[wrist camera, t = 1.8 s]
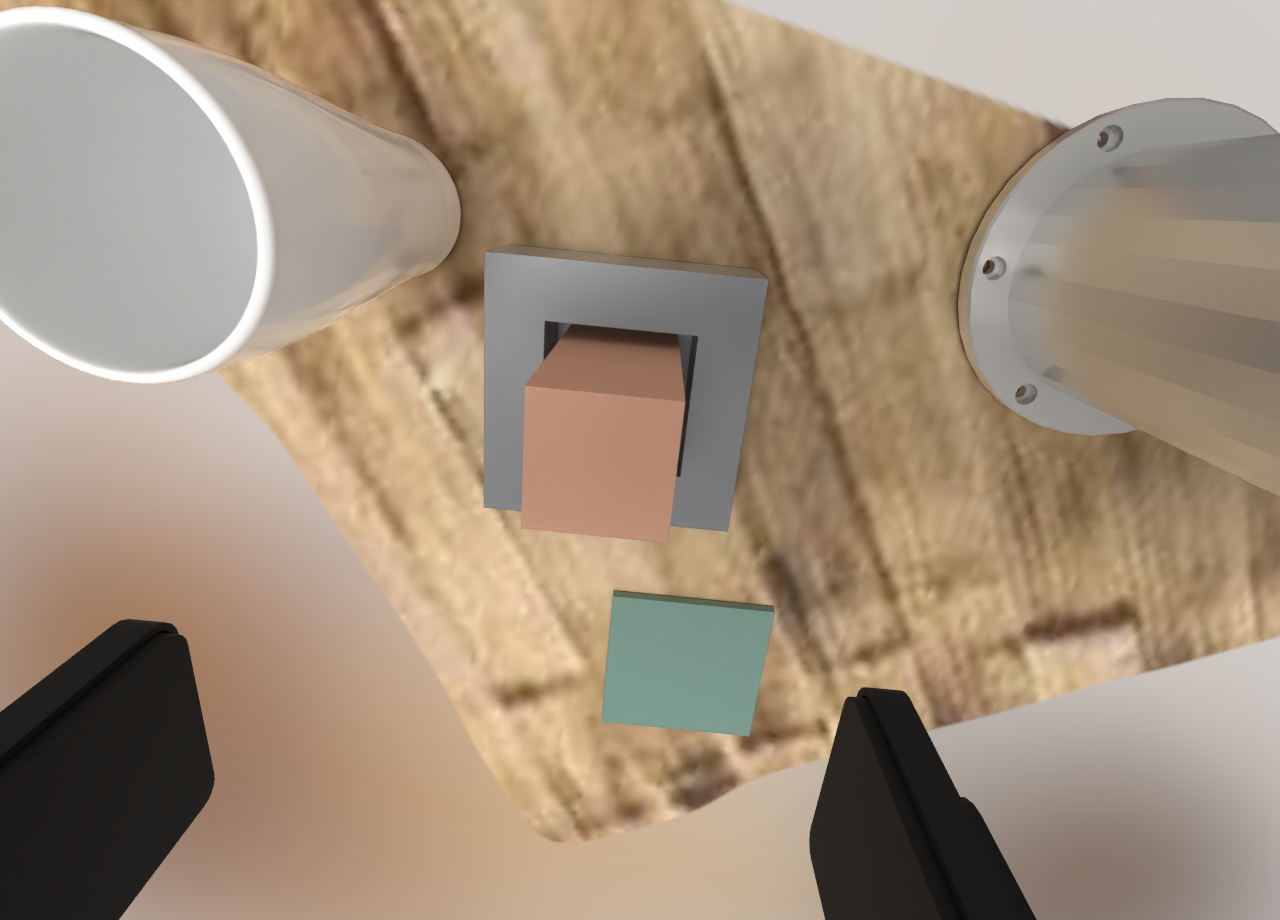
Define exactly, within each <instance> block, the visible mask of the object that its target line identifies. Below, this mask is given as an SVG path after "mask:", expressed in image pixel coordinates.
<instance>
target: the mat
mask: <svg viewBox="0 0 1280 920" xmlns="http://www.w3.org/2000/svg"><path fill="white" fill-rule="evenodd" d="M773 617H774V609H773V606H763V605H753V604H743V603H733V602H723V601H713V600H703V599H693V598H682V597H672V596H662V595H652V594H642V593H632V592H622V591H614V592H613V602H612V613H611V623H610V634H609V645H608V656H607V667H606V678H605V689H604V700H603V711H602V722H610V723H620V724H630V725H640V726H651V727H661V728H671V729H681V730H691V731H701V732H712V733H722V734H732V735H742V736H749V734H750V729H751V724H752V719H753V715H754V710H755V705H756V700H757V695H758V690H759V685H760V680H761V675H762V670H763V666H764V661H765V656H766V651H767V646H768V641H769V636H770V631H771V626H772V621H773Z"/></svg>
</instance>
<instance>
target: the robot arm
mask: <svg viewBox="0 0 1280 920" xmlns="http://www.w3.org/2000/svg"><path fill="white" fill-rule="evenodd" d="M1099 135H1100V137H1101V142H1100V143H1099V145H1097V143H1098V136H1099ZM987 260H988V262H989V268H988V270H987V271H986V272H984V273H983V266H984V264H985V263H986V261H987ZM958 313H959V328H960V334H961V338H962V341H963V345H964V348H965V352H966V356H967V358H968V360H969V362H970V364H971V366H972V368H973V369H974V371H975V373H976V375H977V377H978V379H979V380H980V381H981V383H982V384H983V385H984V386H985V387H986V388H987V389H988V390H989V392H990V393H991V394H992V395H993V396H994V397H995V398H996V399H997V400H998V401H1000V402H1001V403H1002V404H1004V405H1005V406H1007V407H1008V408H1009V409H1011V410H1012V411H1014V412H1015V413H1017V414H1018V415H1020V416H1022V417H1024V418H1026V419H1028V420H1030V421H1032V422H1033V423H1035V424H1037V425H1039V426H1043V427H1046V428H1049V429H1052V430H1056V431H1059V432H1062V433H1069V434H1079V435H1089V436H1097V435H1110V434H1122V433H1127V432H1131V431H1135V430H1141V431H1143V432H1145V433H1147V434H1150V435H1152V436H1154V437H1156V438H1158V439H1160V440H1162V441H1164V442H1166V443H1168V444H1170V445H1172V446H1175V447H1177V448H1179V449H1181V450H1183V451H1185V452H1187V453H1189V454H1191V455H1193V456H1195V457H1197V458H1200V459H1202V460H1204V461H1206V462H1208V463H1210V464H1212V465H1214V466H1216V467H1218V468H1220V469H1222V470H1225V471H1227V472H1229V473H1231V474H1233V475H1235V476H1237V477H1239V478H1241V479H1243V480H1245V481H1247V482H1250V483H1252V484H1254V485H1256V486H1258V487H1260V488H1262V489H1264V490H1266V491H1268V492H1270V493H1272V494H1275V495H1277V496H1279V497H1280V134H1279V133H1278V132H1277V131H1276V130H1275V129H1273V128H1272V127H1271V126H1270V125H1269V124H1268V123H1267V122H1266V121H1264V120H1263V119H1262V118H1259V117H1258V116H1255V115H1253V114H1252V113H1250V112H1248V111H1246V110H1244V109H1242V108H1240V107H1238V106H1235V105H1232V104H1227V103H1222V102H1218V101H1214V100H1209V99H1205V98H1166V99H1161V100H1155V101H1150V102H1144V103H1139V104H1134V105H1130V106H1127V107H1124V108H1121V109H1117V110H1114V111H1111V112H1108V113H1104V114H1101V115H1098V116H1096V117H1094V118H1093V119H1091V120H1089V121H1087V122H1085V123H1083V124H1081V125H1079V126H1077V127H1075V128H1073V129H1071V130H1069V131H1067V132H1065V133H1064V134H1062V135H1061V136H1060V137H1058V138H1057V139H1056V140H1054V141H1053V142H1052V143H1050V144H1049V145H1047V146H1046V147H1045V148H1043V149H1042V150H1041V151H1039V152H1038V153H1036V154H1035V155H1034V156H1033V157H1032V158H1031V159H1030V160H1029V161H1028V162H1027V163H1026V164H1025V165H1024V166H1023V167H1022V168H1021V169H1020V170H1019V171H1018V172H1017V173H1016V174H1015V175H1014V176H1013V177H1012V178H1011V179H1010V180H1009V181H1008V183H1007V184H1006V185H1005V187H1004V188H1003V190H1002V191H1001V192H1000V194H999V195H998V196H997V198H996V199H995V200H994V202H993V203H992V205H991V206H990V207H989V209H988V210H987V212H986V214H985V216H984V218H983V220H982V222H981V224H980V226H979V228H978V230H977V232H976V234H975V235H974V237H973V239H972V242H971V245H970V248H969V251H968V254H967V257H966V261H965V264H964V267H963V270H962V275H961V282H960V290H959V298H958ZM1020 387H1021V388H1020ZM1018 388H1020V390H1019V392H1017V390H1018ZM1016 392H1017V393H1016ZM1015 393H1016V394H1015ZM214 780H215V778H214V771H213V765H212V761H211V755H210V751H209V746H208V741H207V736H206V731H205V726H204V721H203V716H202V711H201V707H200V701H199V697H198V691H197V687H196V682H195V677H194V672H193V667H192V662H191V657H190V652H189V647H188V643H187V640H186V638H184V636H182V635H179V634H178V631H177V629H176V628H175V627H174V626H173V625H172V624H170V623H165V622H153V621H144V620H133V619H126V620H121V621H119V622H117V623H116V624H114V625H112V626H111V627H110V628H108V629H107V630H106V631H105V632H103V633H102V634H101V635H99V636H98V637H97V638H96V639H94V640H93V641H92V642H91V643H89V644H88V645H86V646H85V647H84V648H83V649H81V650H80V651H79V652H77V653H76V654H75V655H74V656H72V657H71V658H70V659H68V660H67V661H66V662H65V663H63V664H62V665H61V666H59V667H58V668H57V669H55V670H54V671H53V672H52V673H50V674H49V675H48V676H46V677H45V678H44V679H43V680H41V681H40V682H39V683H37V684H36V685H35V686H33V687H32V688H31V689H30V690H28V691H27V692H26V693H24V694H23V695H22V696H21V697H19V698H18V699H17V700H15V701H14V702H13V703H12V704H10V705H9V706H8V707H6V708H5V709H4V710H2V711H1V712H0V920H119V919H120V917H121V916H122V915H123V913H124V912H125V911H126V909H127V908H128V907H129V905H130V904H131V903H132V901H133V900H134V899H135V897H136V896H137V895H138V894H139V892H140V891H141V890H142V888H143V887H144V885H145V884H146V883H147V881H148V880H149V879H150V878H151V876H152V875H153V874H154V872H155V871H156V870H157V868H158V867H159V865H160V864H161V863H162V862H163V860H164V859H165V858H166V856H167V855H168V854H169V852H170V851H171V850H172V848H173V847H174V846H175V844H176V843H177V842H178V840H179V839H180V838H181V836H182V835H183V833H184V832H185V831H186V830H187V828H188V827H189V826H190V824H191V823H192V822H193V820H194V819H195V818H196V816H197V815H198V814H199V812H200V811H201V810H202V808H203V807H204V806H205V804H206V803H207V801H208V799H209V797H210V795H211V793H212V789H213V786H214ZM809 840H810V841H809V842H810V855H811V861H812V865H813V869H814V873H815V878H816V882H817V886H818V890H819V895H820V898H821V903H822V907H823V912H824V916H825V920H1036V918H1035V916H1034V914H1033V912H1032V910H1031V909H1030V907H1029V905H1028V903H1027V901H1026V899H1025V897H1024V896H1023V893H1022V891H1021V890H1020V888H1019V886H1018V884H1017V882H1016V880H1015V878H1014V876H1013V874H1012V873H1011V871H1010V869H1009V867H1008V865H1007V863H1006V861H1005V859H1004V857H1003V856H1002V854H1001V852H1000V850H999V848H998V846H997V844H996V843H995V840H994V839H993V837H992V835H991V833H990V831H989V829H988V827H987V825H986V824H985V822H984V820H983V818H982V816H981V814H980V813H979V812H978V810H977V808H976V807H975V806H974V804H973V803H972V802H970V801H969V800H968V799H967V798H964V797H960V796H959V794H958V792H957V790H956V788H955V786H954V784H953V782H952V780H951V778H950V776H949V774H948V772H947V770H946V768H945V766H944V764H943V762H942V760H941V759H940V757H939V755H938V753H937V751H936V749H935V747H934V745H933V743H932V741H931V739H930V737H929V735H928V733H927V731H926V729H925V727H924V725H923V723H922V721H921V719H920V717H919V715H918V713H917V711H916V710H915V708H914V706H913V704H912V702H911V700H910V698H909V697H908V695H907V694H906V693H905V692H903V691H900V690H889V689H878V688H868V687H864V688H861V689H860V690H859V692H858V694H857V697H847V699H846V700H845V703H844V706H843V709H842V713H841V717H840V721H839V724H838V728H837V732H836V736H835V739H834V743H833V747H832V751H831V754H830V758H829V762H828V765H827V769H826V773H825V777H824V780H823V784H822V788H821V792H820V796H819V799H818V803H817V807H816V810H815V814H814V818H813V821H812V825H811V830H810V839H809Z"/></svg>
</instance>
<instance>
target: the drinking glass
mask: <svg viewBox="0 0 1280 920" xmlns="http://www.w3.org/2000/svg"><path fill="white" fill-rule="evenodd" d="M460 221H461V210H460V202H459V197H458V193H457V190H456V187H455V185H454V182H453V180H452V178H451V176H450V174H449V172H448V171H447V169H446V168H445V166H444V165H443V164H442V162H441V161H440V160H439V159H438V158H437V157H436V156H435V155H434V154H433V153H432V152H431V151H430V150H429V149H427V148H426V147H425V146H423V145H422V144H420V143H419V142H417V141H415V140H413V139H411V138H409V137H406V136H404V135H401V134H398V133H394V132H390V131H388V130H385V129H383V128H381V127H379V126H377V125H375V124H373V123H371V122H369V121H367V120H365V119H363V118H361V117H359V116H356V115H354V114H352V113H350V112H348V111H346V110H344V109H343V108H341V107H339V106H337V105H335V104H333V103H331V102H329V101H327V100H325V99H323V98H321V97H319V96H317V95H315V94H313V93H311V92H309V91H307V90H305V89H303V88H301V87H299V86H297V85H295V84H293V83H291V82H289V81H287V80H285V79H283V78H281V77H279V76H277V75H275V74H273V73H271V72H269V71H267V70H264V69H262V68H260V67H257V66H255V65H253V64H251V63H248V62H246V61H243V60H241V59H238V58H236V57H233V56H230V55H228V54H225V53H223V52H220V51H217V50H214V49H212V48H209V47H206V46H203V45H200V44H197V43H194V42H191V41H188V40H185V39H182V38H179V37H175V36H172V35H169V34H165V33H161V32H158V31H154V30H151V29H147V28H143V27H140V26H136V25H132V24H128V23H125V22H121V21H117V20H113V19H109V18H105V17H101V16H98V15H95V14H91V13H87V12H84V11H80V10H75V9H68V8H62V7H51V6H29V7H18V8H13V9H8V10H3V11H0V320H1V321H2V322H4V323H5V324H6V325H7V326H8V327H10V328H11V329H12V330H13V331H14V332H16V333H17V334H18V335H19V336H20V337H22V338H24V339H25V340H26V341H28V342H29V343H30V344H32V345H33V346H35V347H36V348H38V349H40V350H41V351H43V352H44V353H46V354H48V355H49V356H51V357H53V358H55V359H57V360H59V361H61V362H63V363H65V364H67V365H69V366H72V367H74V368H76V369H79V370H81V371H84V372H86V373H89V374H93V375H95V376H98V377H102V378H107V379H111V380H115V381H121V382H128V383H137V384H162V383H171V382H178V381H182V380H186V379H190V378H194V377H196V376H199V375H202V374H206V373H209V372H213V371H217V370H220V369H224V368H227V367H231V366H234V365H237V364H240V363H244V362H247V361H249V360H252V359H255V358H258V357H261V356H264V355H266V354H269V353H272V352H274V351H277V350H279V349H282V348H284V347H287V346H289V345H292V344H294V343H296V342H298V341H301V340H303V339H305V338H307V337H309V336H311V335H313V334H315V333H317V332H319V331H321V330H323V329H324V328H326V327H328V326H330V325H332V324H333V323H335V322H337V321H339V320H340V319H342V318H344V317H345V316H347V315H349V314H351V313H352V312H354V311H356V310H357V309H359V308H361V307H362V306H364V305H366V304H367V303H369V302H371V301H372V300H374V299H376V298H377V297H379V296H381V295H383V294H384V293H386V292H388V291H389V290H391V289H393V288H395V287H396V286H398V285H400V284H402V283H403V282H405V281H407V280H409V279H411V278H414V277H417V276H420V275H423V274H425V273H427V272H429V271H431V270H433V269H434V268H436V267H437V266H438V265H439V264H440V263H442V262H443V260H444V259H445V258H446V257H447V256H448V254H449V253H450V252H451V250H452V248H453V246H454V244H455V242H456V239H457V237H458V233H459V229H460Z"/></svg>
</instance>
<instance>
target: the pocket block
mask: <svg viewBox="0 0 1280 920" xmlns="http://www.w3.org/2000/svg"><path fill="white" fill-rule="evenodd" d="M768 281H769V280H768V279H767V278H765V277H764V276H763V275H761V274H760V273H759V272H757V271H756V270H755V269H749V268H739V267H729V266H719V265H709V264H699V263H689V262H679V261H669V260H659V259H649V258H639V257H629V256H619V255H609V254H599V253H589V252H579V251H569V250H559V249H549V248H539V247H530V246H520V245H506V246H503V247H499V248H495V249H492V250H488V251H485V272H484V508H494V509H504V510H514V511H522V475H523V438H524V402H525V385H526V384H527V382H528V381H529V380H530V378H531V377H532V376H533V374H534V373H535V372H536V371H537V369H538V368H539V367H540V365H541V364H542V363H543V361H544V360H545V359H546V357H547V356H548V355H549V353H550V352H551V351H552V349H553V348H554V347H555V345H556V344H557V343H558V341H559V340H560V339H561V338H562V336H563V335H564V334H565V332H566V331H567V330H568V328H569V327H570V326H571V324H581V325H591V326H601V327H611V328H621V329H631V330H641V331H651V332H661V333H671V334H678V337H679V347H680V356H681V365H682V374H683V384H684V393H685V409H684V417H683V426H682V434H681V442H680V450H679V458H678V466H677V474H676V482H675V490H674V498H673V506H672V514H671V522H670V526H675V527H685V528H696V529H706V530H716V531H726V532H728V527H729V521H730V515H731V509H732V503H733V496H734V490H735V484H736V478H737V472H738V466H739V460H740V453H741V447H742V441H743V435H744V429H745V423H746V417H747V410H748V404H749V398H750V392H751V386H752V380H753V374H754V367H755V361H756V355H757V349H758V343H759V337H760V331H761V324H762V318H763V312H764V306H765V300H766V294H767V288H768Z"/></svg>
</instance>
